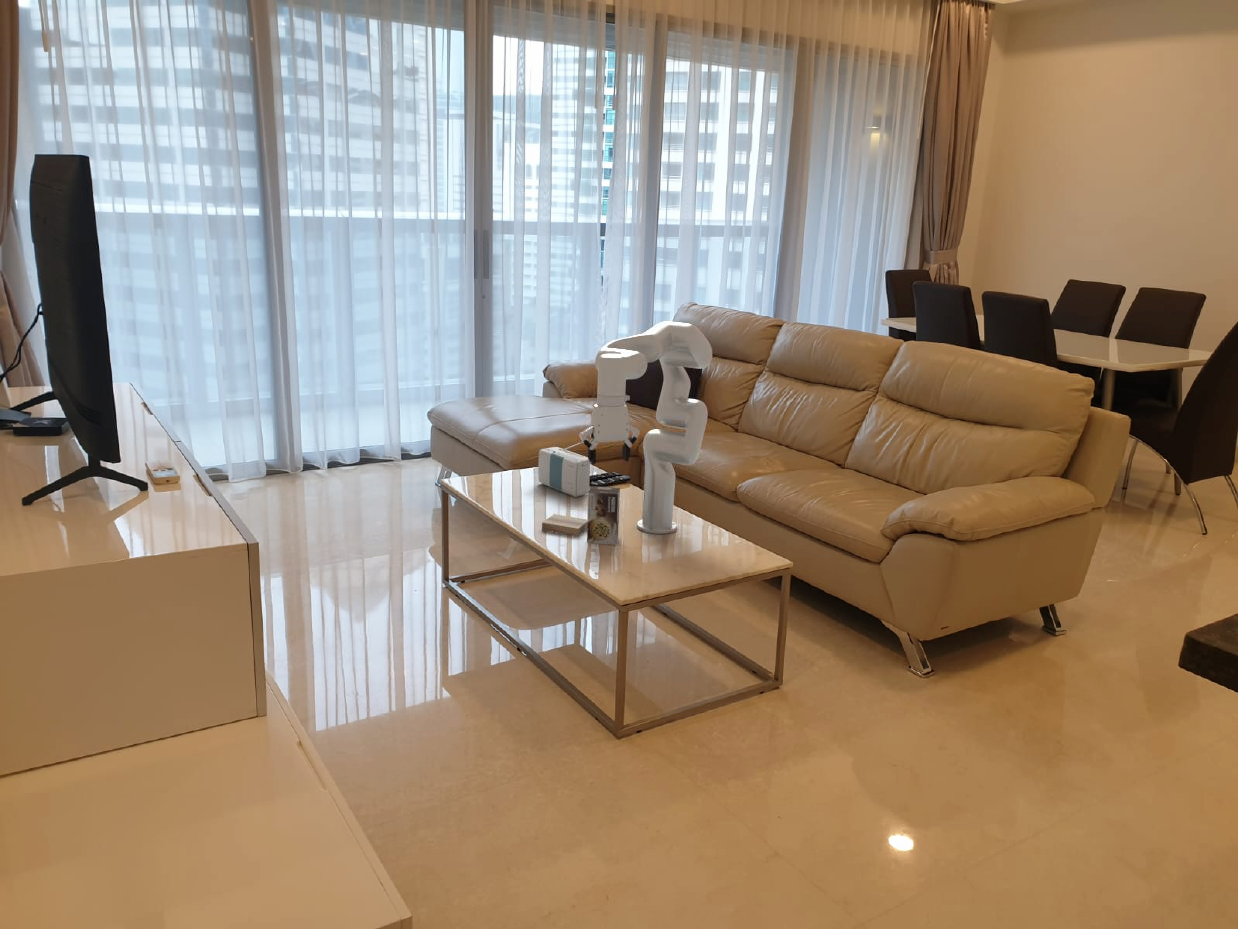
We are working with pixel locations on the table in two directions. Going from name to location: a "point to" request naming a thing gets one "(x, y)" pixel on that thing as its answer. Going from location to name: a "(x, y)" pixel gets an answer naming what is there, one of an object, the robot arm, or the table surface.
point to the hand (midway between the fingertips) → (608, 461)
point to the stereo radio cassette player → (564, 470)
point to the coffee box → (603, 515)
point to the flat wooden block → (565, 525)
